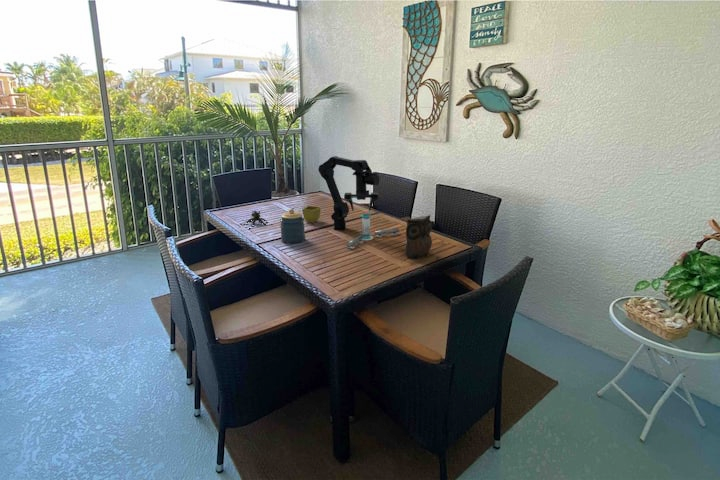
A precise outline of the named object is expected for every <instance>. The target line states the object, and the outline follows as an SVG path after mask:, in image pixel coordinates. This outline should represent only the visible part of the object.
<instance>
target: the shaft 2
mask: <svg viewBox="0 0 720 480" xmlns="http://www.w3.org/2000/svg"><path fill="white" fill-rule="evenodd" d="M373 233H374V236H376V237H377V238H383V235H388V234H390V235H392V236H397V235H398V233H399V228H397V227H396V228H391V229H383V230H375V231H374V232H373Z"/></svg>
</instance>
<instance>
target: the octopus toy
mask: <svg viewBox="0 0 720 480" xmlns="http://www.w3.org/2000/svg"><path fill="white" fill-rule="evenodd" d="M251 212H252V213H251V215H250V216H251V218H249V219H247V220H248V221H246V222H247V223H248V222H249V223H251V222H250V221H251V220H252V224H251V226H252V225H254V226H255V225H256V222H257V221H258V222H260V223H261V224H262V223H263V224H266V222H265V221H267V220H266V219H265V218H263V217H261V210H259V211H256V210H253V211H251ZM249 223H248V224H249ZM263 224H262V225H263Z"/></svg>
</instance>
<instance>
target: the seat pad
mask: <svg viewBox="0 0 720 480" xmlns="http://www.w3.org/2000/svg"><path fill="white" fill-rule="evenodd" d="M373 239H374V236H372V235H371V238H370V239H362V241H371V240H373Z"/></svg>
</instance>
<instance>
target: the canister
mask: <svg viewBox="0 0 720 480" xmlns="http://www.w3.org/2000/svg"><path fill="white" fill-rule="evenodd" d="M280 217H281V218H280V219H279V222H280V225H279V227H280V239H281V242H282V241H283V242H282V243H284V242H285V243H284V244H287V243H296V244H300V243H304V241H305V240H306V233H305V232H306V231H305V226H306V225H305V223H304V221H305V219H304V216H303V213H301V212H299V211H296V210H294V208H290V209H289V210H288V211H285V212H283V213H282V214H281V215H280Z"/></svg>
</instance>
